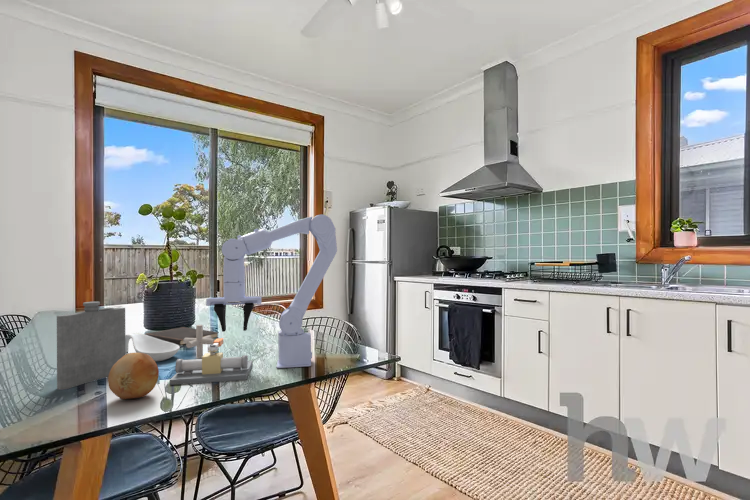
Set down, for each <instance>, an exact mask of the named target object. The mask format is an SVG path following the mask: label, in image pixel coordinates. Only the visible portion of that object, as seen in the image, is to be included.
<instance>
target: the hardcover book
mask: <svg viewBox="0 0 750 500" xmlns="http://www.w3.org/2000/svg"><path fill="white" fill-rule="evenodd" d="M218 334H219V332H218V331H213V330H212V331H211V330H205V329H203V337H205V336H208V335H210V336H211V337H212V339H215V338H217V337H218ZM145 335H148V336H151V337H154V338H157V339H160V340H163V341H167V342H171V343H174V344H177V345H179V346H182V345H186V344H185V343H183V340H184V338H196V328H193V327H185V326H180V327H175V328H171V329H170V328H169V329H165V330H159V331H153V332H146V333H145Z"/></svg>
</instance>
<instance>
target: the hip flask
mask: <svg viewBox="0 0 750 500" xmlns="http://www.w3.org/2000/svg"><path fill="white" fill-rule="evenodd" d="M99 306H101V301H85V302H83V303H82V307H84V308H83V310H84V311H79V312H71V313H65V314H59V315H58V314H57V315H56V389H57V390H59V391H60V390H61V391H62V390H69V389H71V388H74V387H77V386H81V385H84V383H85V384H87V383H90V382H95V381H99V380H102V378H103V379H106V377H107V378H108V376H109V373H110V370H111V368H112V367H113V365H114V364H115V363H116V362H117V361H118V360H119V359H121V358H122V357H123V356H124V355H126V354H127V353H126V348H125V335H126V307H102V308H101V307H99ZM98 379H99V380H98ZM94 380H95V381H94Z"/></svg>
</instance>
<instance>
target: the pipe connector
mask: <svg viewBox="0 0 750 500" xmlns="http://www.w3.org/2000/svg"><path fill="white" fill-rule="evenodd" d="M203 327H204V325H203V324H196V326H195V329H196V338H184V340H183V343H185V344H184V345H186V348H188V349H190V348H193V347H196V348H195V349H196V358H195V359H202V357H203V356H204V355H203V354H204V349H203V346H204V345H209V346H210V345H213V342H214V341H215V340H216V339H215V338H212V337H211V336H210V335H208V336H205V337H203V330H204V329H203Z"/></svg>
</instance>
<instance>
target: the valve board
mask: <svg viewBox="0 0 750 500" xmlns="http://www.w3.org/2000/svg"><path fill="white" fill-rule="evenodd" d="M203 354H204V355H203V357H202V358H195V359H184V358H177V359H176V360H175V366H174V367H175V374H174V375H173V376H172V377H171V378H170V379H169V385H170V386H172V385H173V386H175V385H186V384H188V385H189V384H190V385H191V384H202V383H217V382H219V383H220V382H231V381H232V382H234V381H246V380H247V379H248V377H249V375H248V374H250V372H251V369H252V367H253V362H254V361H253V360H249V356H248V355H247V354H246V355H242V356H232V357H231V356H230V357H229V356H228V357H224V352H206V353H203Z"/></svg>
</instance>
